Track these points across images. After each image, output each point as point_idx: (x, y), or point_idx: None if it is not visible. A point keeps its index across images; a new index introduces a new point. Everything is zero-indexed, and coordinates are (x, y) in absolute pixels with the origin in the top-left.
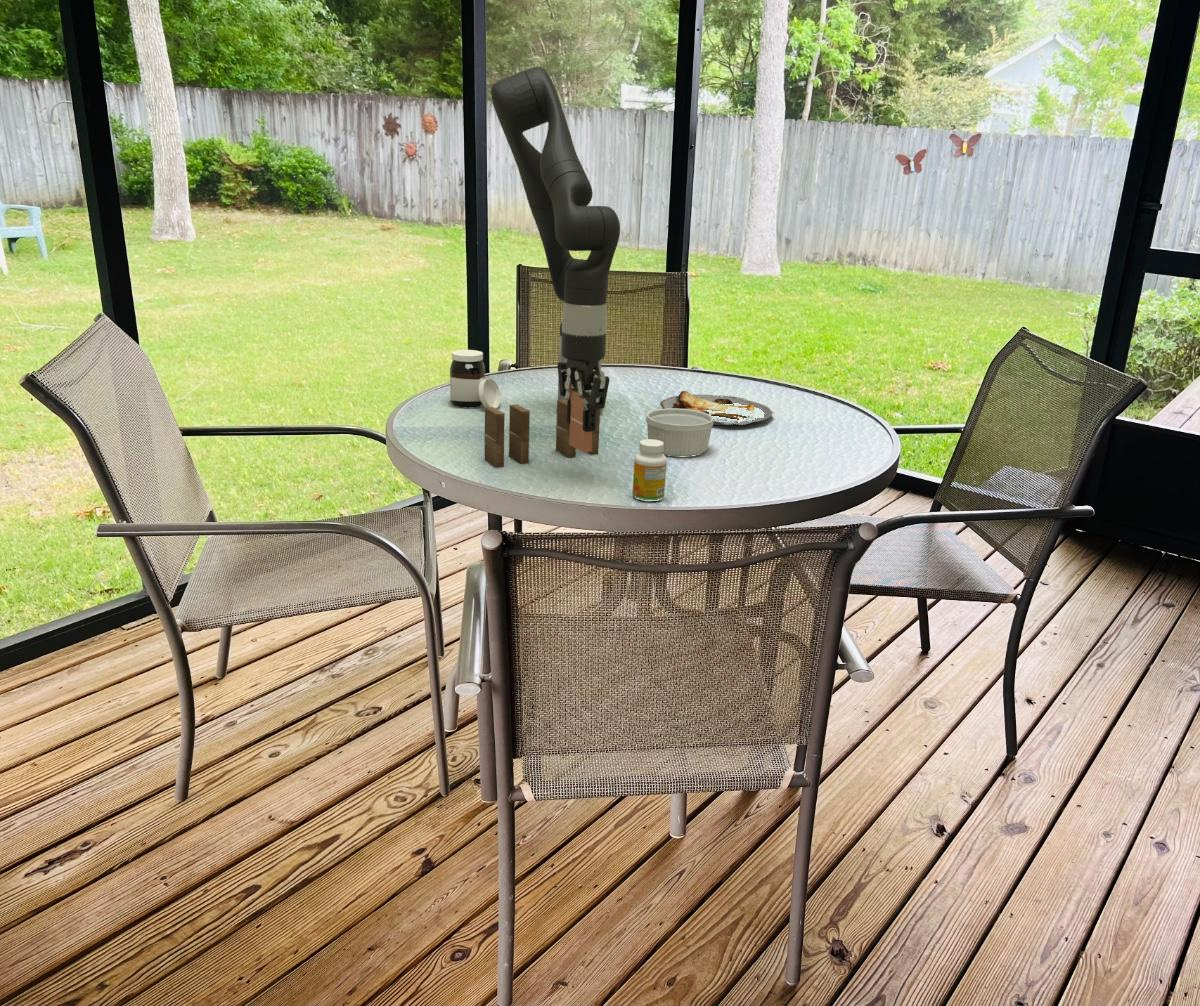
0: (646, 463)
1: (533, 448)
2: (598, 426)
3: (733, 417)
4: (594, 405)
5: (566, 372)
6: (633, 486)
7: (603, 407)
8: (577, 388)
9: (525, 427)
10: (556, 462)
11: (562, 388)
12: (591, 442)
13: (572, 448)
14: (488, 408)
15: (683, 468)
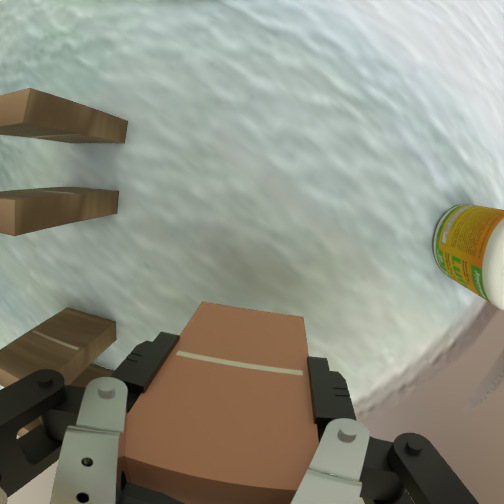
0: None
1: (39, 242)
2: (82, 109)
3: None
4: (406, 495)
5: (2, 500)
6: (458, 282)
7: (424, 443)
8: (129, 481)
9: (67, 374)
10: (131, 262)
11: (57, 456)
12: (305, 333)
13: (104, 203)
14: (18, 432)
15: (343, 10)
